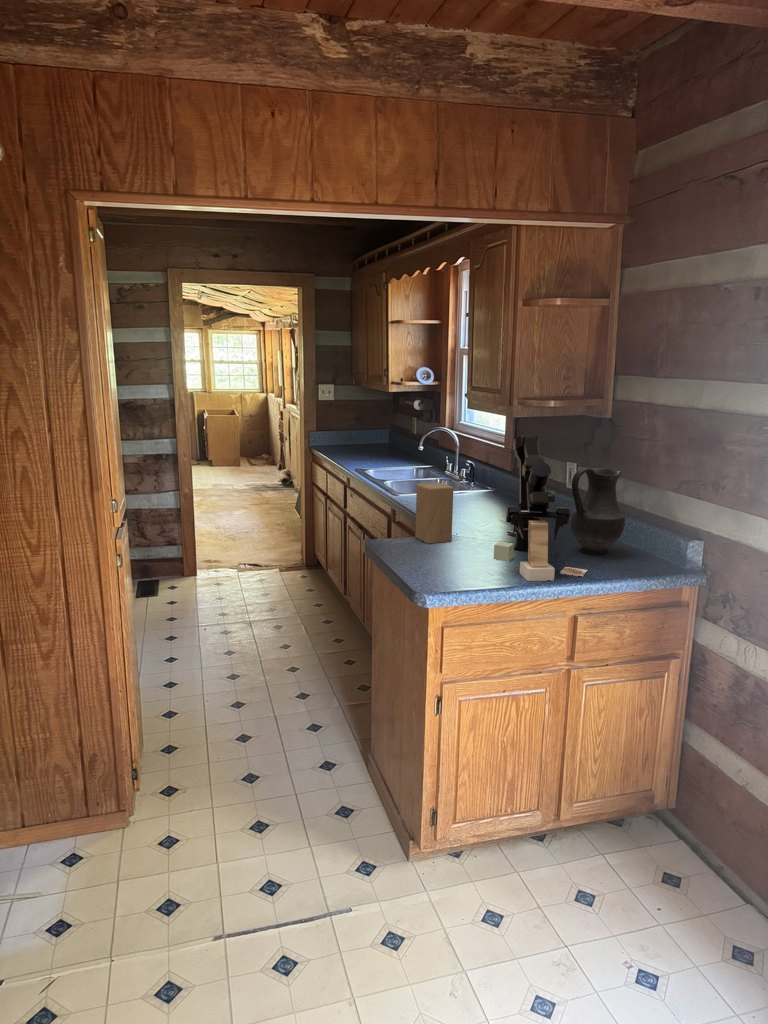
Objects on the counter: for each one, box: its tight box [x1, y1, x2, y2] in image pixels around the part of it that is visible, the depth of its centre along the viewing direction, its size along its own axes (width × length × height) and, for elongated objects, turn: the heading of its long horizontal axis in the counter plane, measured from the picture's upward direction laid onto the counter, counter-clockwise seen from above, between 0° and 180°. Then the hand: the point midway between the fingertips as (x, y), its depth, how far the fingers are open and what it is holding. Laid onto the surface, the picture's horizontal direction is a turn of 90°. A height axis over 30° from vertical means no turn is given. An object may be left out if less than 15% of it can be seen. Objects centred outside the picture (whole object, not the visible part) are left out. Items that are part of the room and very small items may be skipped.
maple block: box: [527, 520, 549, 567], centre depth 215 cm, size 5×5×13 cm
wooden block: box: [414, 482, 454, 545], centre depth 257 cm, size 10×10×20 cm
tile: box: [559, 566, 588, 578], centre depth 222 cm, size 7×7×1 cm
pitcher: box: [570, 466, 626, 557], centre depth 240 cm, size 17×21×30 cm
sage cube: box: [493, 541, 515, 562], centre depth 235 cm, size 5×5×5 cm
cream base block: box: [519, 561, 556, 582], centre depth 217 cm, size 8×8×4 cm
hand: (539, 539), depth 214 cm, fingers open, 9 cm apart
